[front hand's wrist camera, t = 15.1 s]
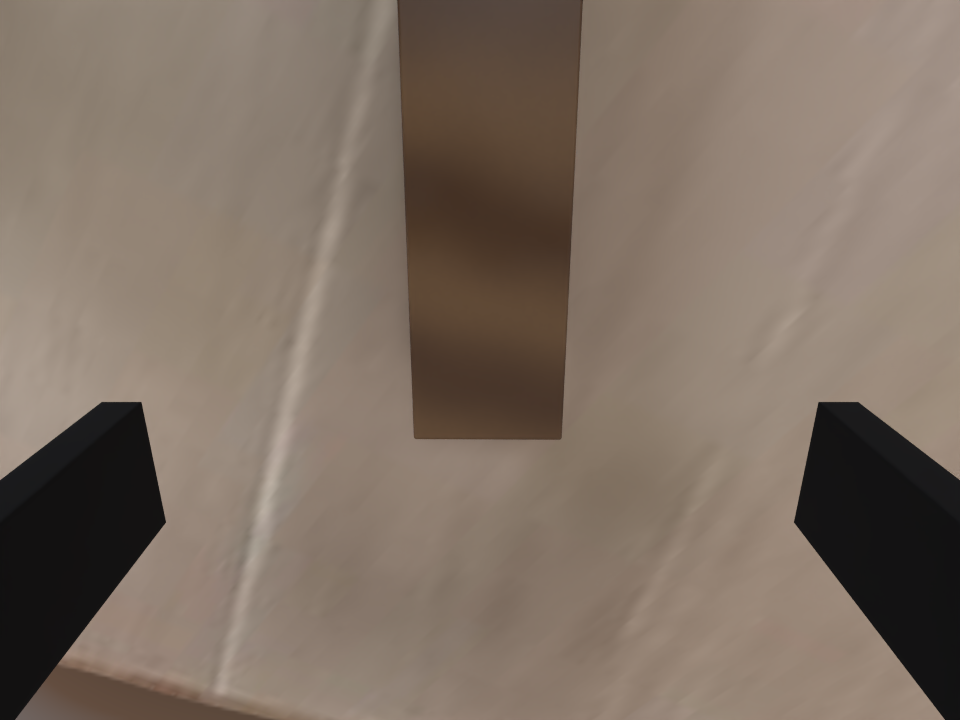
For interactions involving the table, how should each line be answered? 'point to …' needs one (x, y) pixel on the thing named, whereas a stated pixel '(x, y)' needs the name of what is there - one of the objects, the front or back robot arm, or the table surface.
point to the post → (488, 211)
